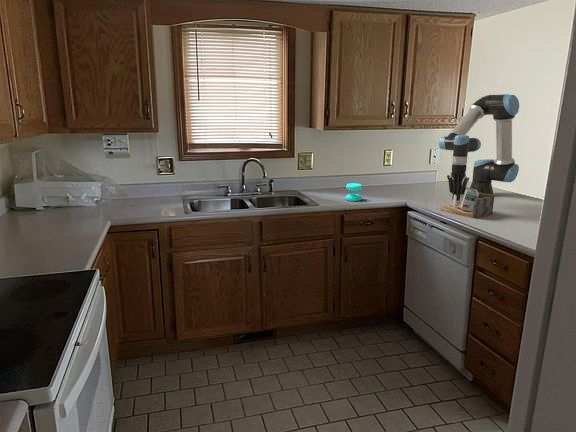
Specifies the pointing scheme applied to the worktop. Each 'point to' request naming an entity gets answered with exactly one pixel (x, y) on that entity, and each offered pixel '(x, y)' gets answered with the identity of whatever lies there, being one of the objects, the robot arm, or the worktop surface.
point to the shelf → (481, 207)
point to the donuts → (354, 188)
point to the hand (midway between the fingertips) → (455, 205)
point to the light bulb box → (468, 199)
